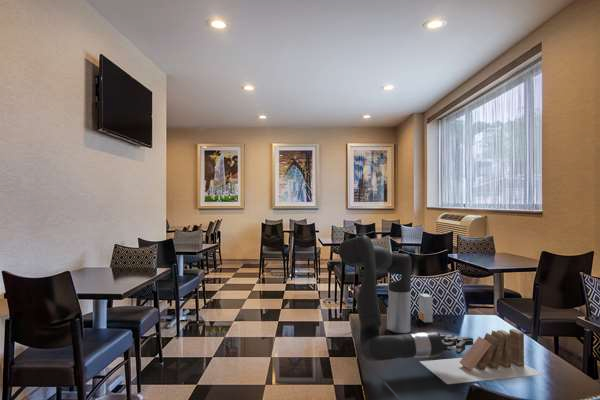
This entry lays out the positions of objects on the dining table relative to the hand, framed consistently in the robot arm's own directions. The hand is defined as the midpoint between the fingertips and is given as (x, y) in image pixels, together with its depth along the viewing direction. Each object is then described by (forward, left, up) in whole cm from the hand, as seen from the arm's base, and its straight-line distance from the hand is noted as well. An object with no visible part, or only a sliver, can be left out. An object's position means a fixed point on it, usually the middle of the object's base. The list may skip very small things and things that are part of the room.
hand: (471, 340), depth 118 cm
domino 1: (+2, +2, -9) cm, 9 cm away
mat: (+2, +2, -10) cm, 10 cm away
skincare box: (-26, +45, -10) cm, 53 cm away
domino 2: (+5, +5, -9) cm, 11 cm away
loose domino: (-2, -2, -8) cm, 9 cm away
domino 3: (+9, +9, -9) cm, 15 cm away
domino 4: (+12, +12, -9) cm, 19 cm away
